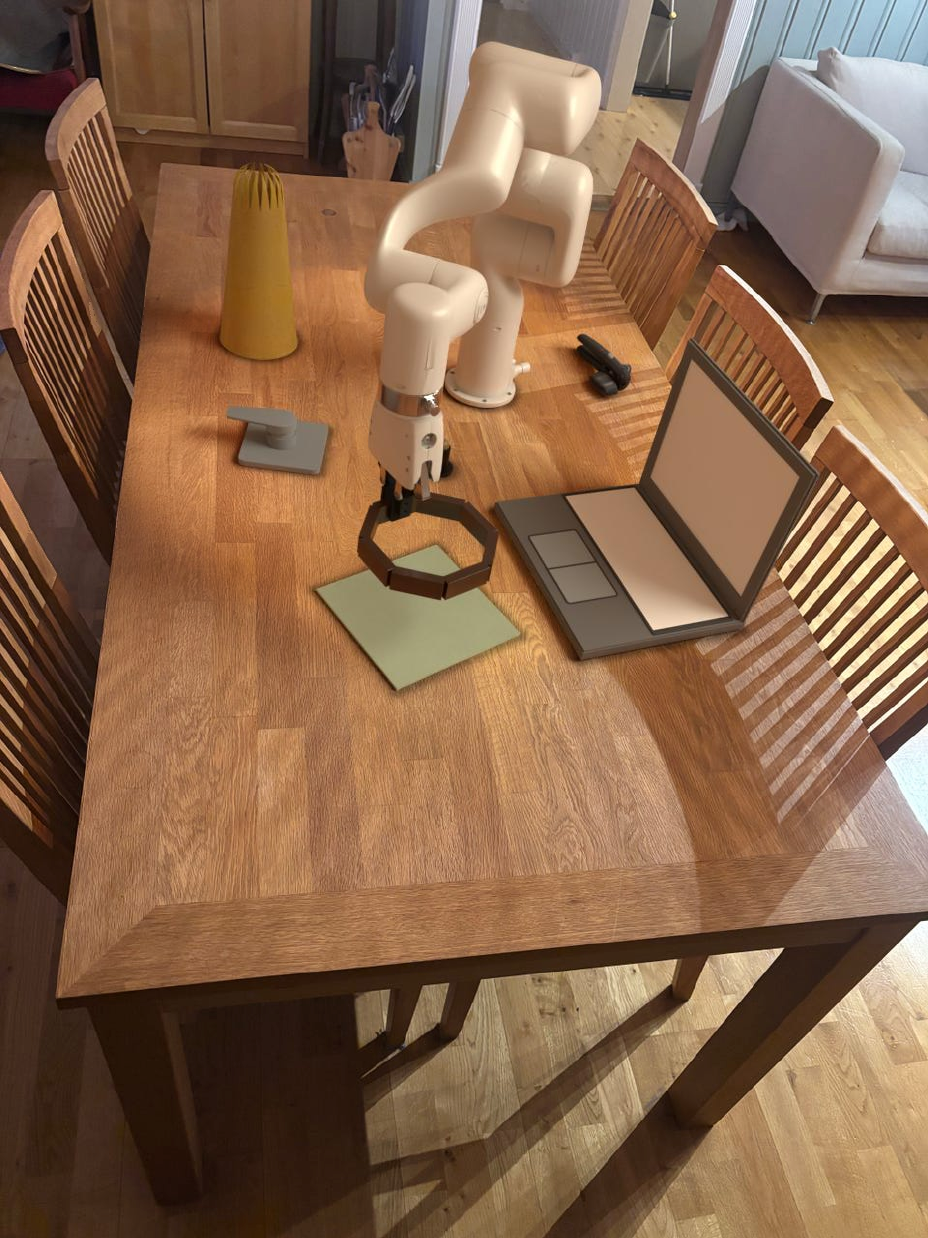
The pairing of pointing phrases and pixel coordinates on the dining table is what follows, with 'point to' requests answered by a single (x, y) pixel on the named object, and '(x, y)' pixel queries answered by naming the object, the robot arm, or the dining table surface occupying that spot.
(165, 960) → the dining table surface
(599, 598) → the laptop
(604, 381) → the can opener
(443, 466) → the post
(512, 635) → the sage mat
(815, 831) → the dining table surface
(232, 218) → the piping tip
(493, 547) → the hanging ring
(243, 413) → the shower valve
